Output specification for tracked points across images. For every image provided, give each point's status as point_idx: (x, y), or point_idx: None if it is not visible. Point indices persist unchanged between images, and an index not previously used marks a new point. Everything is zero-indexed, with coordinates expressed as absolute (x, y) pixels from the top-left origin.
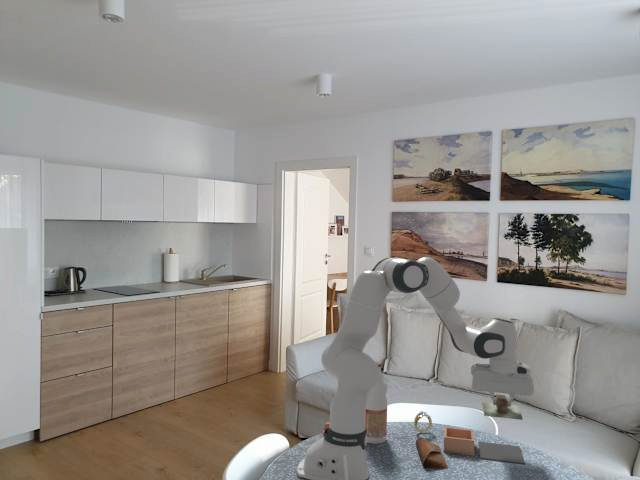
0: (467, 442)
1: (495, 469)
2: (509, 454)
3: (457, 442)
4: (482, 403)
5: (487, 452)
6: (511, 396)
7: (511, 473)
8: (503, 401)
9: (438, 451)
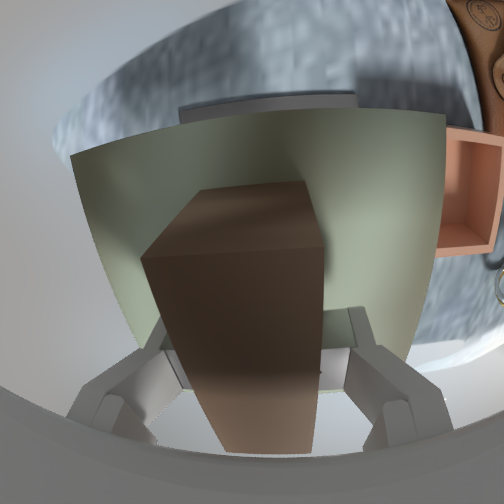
0: None
1: (291, 18)
2: None
3: (460, 128)
4: None
5: None
6: (109, 399)
7: (229, 11)
8: (214, 263)
9: (498, 61)
